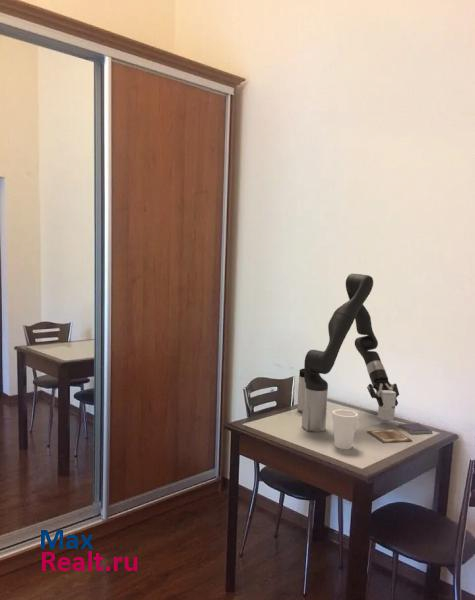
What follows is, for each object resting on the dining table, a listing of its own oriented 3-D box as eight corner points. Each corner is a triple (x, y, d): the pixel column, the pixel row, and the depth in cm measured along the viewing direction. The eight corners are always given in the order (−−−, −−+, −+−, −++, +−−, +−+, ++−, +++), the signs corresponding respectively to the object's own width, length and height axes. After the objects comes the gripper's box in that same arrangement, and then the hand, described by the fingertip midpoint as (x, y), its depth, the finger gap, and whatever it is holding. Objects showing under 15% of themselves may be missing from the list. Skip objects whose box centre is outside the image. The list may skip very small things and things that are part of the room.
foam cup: (355, 443, 200) (357, 411, 199) (355, 451, 191) (357, 418, 190) (331, 440, 202) (333, 408, 201) (330, 448, 193) (332, 415, 192)
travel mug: (312, 410, 242) (314, 368, 241) (308, 413, 236) (310, 371, 235) (300, 408, 245) (302, 367, 243) (295, 411, 239) (297, 369, 237)
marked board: (383, 443, 202) (383, 441, 202) (366, 432, 214) (367, 430, 214) (412, 441, 205) (412, 439, 205) (394, 430, 218) (394, 429, 218)
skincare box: (381, 419, 222) (383, 392, 221) (377, 416, 226) (379, 389, 226) (394, 419, 223) (396, 392, 222) (390, 416, 227) (392, 390, 226)
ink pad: (411, 434, 213) (411, 431, 213) (398, 426, 223) (398, 423, 223) (432, 433, 216) (432, 430, 216) (418, 425, 226) (418, 422, 226)
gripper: (366, 368, 228) (377, 401, 218) (394, 368, 232) (407, 401, 222) (359, 377, 234) (370, 410, 224) (387, 377, 238) (399, 409, 227)
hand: (389, 405), depth 223 cm, fingers closed on skincare box, 6 cm apart
